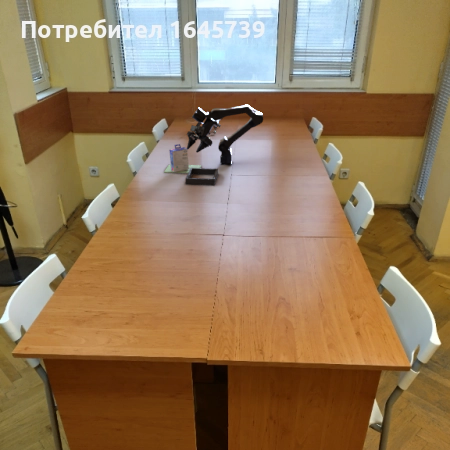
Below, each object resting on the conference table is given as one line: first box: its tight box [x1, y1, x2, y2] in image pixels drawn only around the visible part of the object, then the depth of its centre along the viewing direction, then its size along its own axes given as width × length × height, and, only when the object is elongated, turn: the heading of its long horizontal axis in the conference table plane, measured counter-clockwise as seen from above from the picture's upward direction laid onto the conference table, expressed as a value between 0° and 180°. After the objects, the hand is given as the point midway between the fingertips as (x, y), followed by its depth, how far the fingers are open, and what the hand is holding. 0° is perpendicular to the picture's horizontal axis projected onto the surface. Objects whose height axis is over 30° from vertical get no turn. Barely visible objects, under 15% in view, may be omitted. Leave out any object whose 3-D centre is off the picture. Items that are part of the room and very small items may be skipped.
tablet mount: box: [195, 118, 224, 135], centre depth 346 cm, size 27×14×17 cm
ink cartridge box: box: [169, 143, 190, 172], centre depth 263 cm, size 10×6×14 cm, turn 119°
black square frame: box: [185, 167, 219, 186], centre depth 254 cm, size 16×18×4 cm
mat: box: [163, 163, 202, 174], centre depth 270 cm, size 20×14×1 cm
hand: (191, 150), depth 267 cm, fingers open, 9 cm apart
